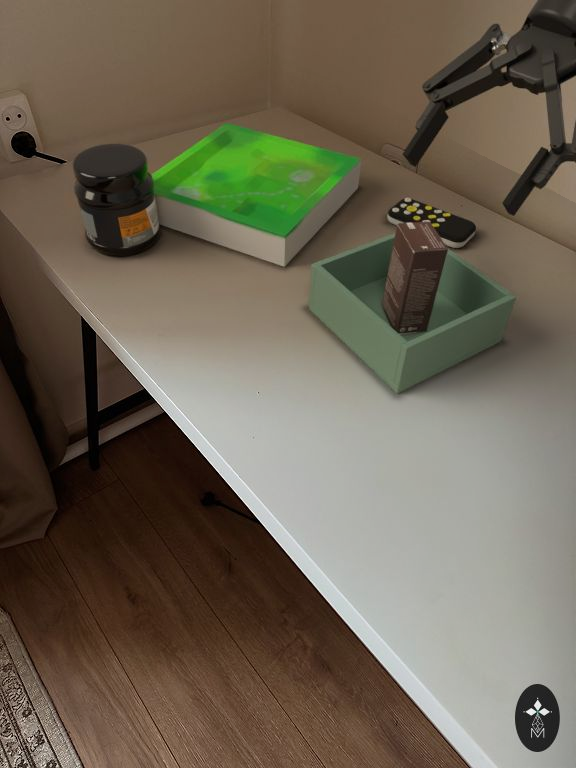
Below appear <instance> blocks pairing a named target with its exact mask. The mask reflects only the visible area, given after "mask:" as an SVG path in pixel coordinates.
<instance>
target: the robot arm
mask: <svg viewBox="0 0 576 768" xmlns="http://www.w3.org/2000/svg"><path fill="white" fill-rule="evenodd" d="M504 50H506V52H504V53H502V51H504ZM495 56H496V57H495ZM488 63H489V64H488ZM486 64H487V65H486ZM504 68H506V70H505V71H502V69H504ZM575 77H576V0H536V2H535V3H534V5H533V6H532V8H531V9H530V11H529V12H528V14H527V16H526V18H525V20H524V23H523V25H522V26H521V28H520V29H519V30H518V31H516V33H515V34H513V35H511V34H509V33H507V32H505V31H503V30H502V28H501V26H500V23H493V24H491V25H490V26H489V27H488V28H487V30H486V32H485V33H484V34H483V35H482V36H481V38H480V39H479V40H478V41H476V42H475V43H473V44H472V45H471V46H470V47H469V48H467V49H466V50H464V51H463V52H462V53H461V54H459V55H458V56H457V57H456V58H454V59H453V60H452V61H450V62H449V63H448V64H447V65H444V67H442V68H441V69H440V70H439V71H438V72H436V73H435V74H433V75H432V76H431V77H429V78H428V79H427V80H425V81H424V83H422V87H421V88H422V91H423V92H424V94H425V95H426V97H427V99H428V100H429V103H428V104H427V106H426V107H425V109H424V111H422V113H421V115H420V116H419V118H418V120H417V121H416V123H415V126H414V127H415V129H416V132H415V133H414V135H413V137H412V138H411V140H410V142H409V143H407V146H406V148H405V149H404V150H403V152H402V155H403V157H404V158H405V160H406V161H407V162H408V163H409V165H410V166H412V167H414V168H416V167H417V166H418V164H419V163H420V161H421V160H422V158H423V157H424V156H425V154H426V152H427V150H428V149H429V148H430V147H431V145H432V143H433V142H434V140H435V139H436V138H437V135H438V134H440V133H439V132H440V131H441V130H442V128H443V127H444V125H445V124H446V122H447V121H448V119H449V115H448V113H447V112H446V111H449V110H450V109H453V108H455V107H457V106H459V105H461V104H463V103H465V102H467V101H469V100H471V99H474V98H475V97H477V96H479V95H481V94H483V93H486V92H488V91H490V90H492V89H494V88H496V87H500V88H502V87H504V86H506V85H508V84H512V87H515V88H516V89H522V90H523V89H524V90H527V91H528V92H530V93H531V94H533V95H535V96H539V94H543V93H544V94H545V101H546V111H547V121H548V123H547V124H548V132H549V133H548V134H549V147H550V150H549V149H548V148H546V147H543V146H540V148H539V149H538V151H537V152H536V154H535V155H534V156H533V158H532V159H531V161H530V163H528V165H527V167H526V168H525V170H523V172H522V174H521V175H520V177H519V178H518V179H517V181H516V182H515V184H514V185H513V186H512V188H511V190H510V191H509V192H508V194H507V195H506V197H505V198H504V199H503V201H502V202H501V204H502V205H503V207H504V209H505V211H506V212H507V214H508V215H510V216H513V217H515V216H516V214H517V213H518V211H519V210H520V208H521V207H522V205H523V204H524V203H525V202H526V200H527V199H528V197H529V195H530V194H531V193H532V192H533V190H534V189H535V188H537V189H539V190H541V189H543V188H545V187H546V186H547V184H548V183H549V181H550V180H551V179H552V177H553V176H554V174H555V173H556V172H557V170H558V168H559V167H560V166H561V165H562V164H563V163H566V162H573V163H575V164H576V120H575V121H574V127H573V133H572V138H571V143H570V142H567V139H566V130H565V120H564V119H565V118H564V110H563V95H562V94H563V93H562V86H561V85H562V84H564V83H565V82H567V81H569V80H571V79H573V78H575Z"/></svg>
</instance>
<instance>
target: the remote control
mask: <svg viewBox="0 0 576 768" xmlns="http://www.w3.org/2000/svg"><path fill="white" fill-rule="evenodd" d="M386 216H387V217H386V218H387V221H388V222H389V223H390V224H392V225H393V226H396V227H397V224H398V223H413V222H431V224H432V225H433V227H434V228H435V230H436V232H437V233H438V235H439V236H440V238H441V239H442V241H443V242H444V244H445V245H446V247H448V248H453V249H460V248H463V247H464V246H465V245H466V244H467V243H468V242H469V241H470V240H471V239H472V238H473V237H474V236H475V235H476V232H477V225H476V224H475V222H473V221H471V220H469V219H467V218H464V217H461V216H459V215H456V214H453V213H451V212H448V211H446V210H443V209H440V208H438V207H435V206H432V205H429V204H427V203H424V202H422V201H418V200H415V199H414V198H410V197H405V198H402V199H400V200H399V201H398V202H396V203H395V204H394V205H393V206H392V207H390V208H389V209H388V211H387V215H386Z"/></svg>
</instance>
